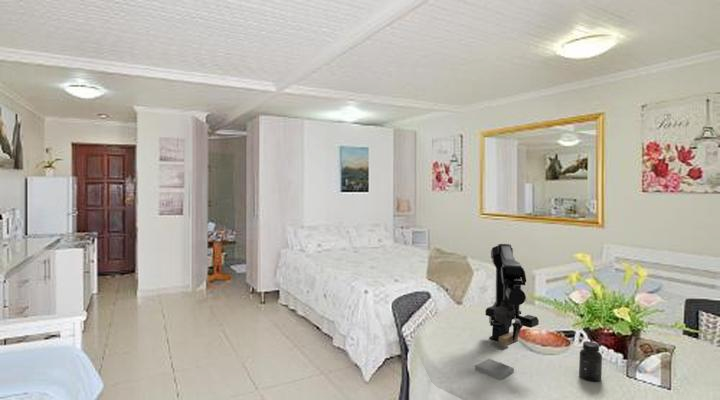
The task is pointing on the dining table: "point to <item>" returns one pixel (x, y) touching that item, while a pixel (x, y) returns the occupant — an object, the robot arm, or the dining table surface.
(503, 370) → the tile
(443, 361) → the dining table surface
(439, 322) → the dining table surface
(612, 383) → the dining table surface
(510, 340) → the brown wooden slab
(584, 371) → the supplement bottle
